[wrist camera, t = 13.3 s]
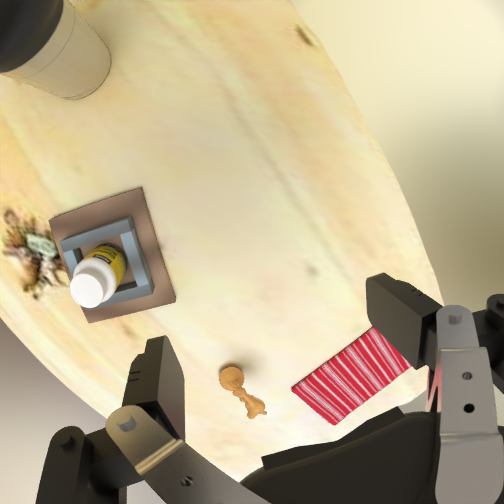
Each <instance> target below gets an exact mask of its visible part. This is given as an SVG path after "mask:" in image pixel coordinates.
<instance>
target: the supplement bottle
mask: <svg viewBox="0 0 504 504" xmlns="http://www.w3.org/2000/svg"><path fill="white" fill-rule="evenodd" d="M126 270H127V259H126V256H125V254H124V252H123V251H122V250H121V249H120V248H119V247H118V246H116V245H114V244H110V243H104V244H101V245H99V246H97V247H96V248H95V249H93V250H92V251H91V252H90V253H89V254H88V255H87V256H86V257H85V258H84V259H83V260H82V261H81V262H80V263H79V264H78V265H77V266H76V268H75V270H74V274H73V279H72V281H71V284H70V292H71V295H72V297H73V299H74V300H75V301H76V302H77V303H78V304H79V305H81V306H83V307H86V308H93V307H96V306H98V305H99V304H100V303H102V302H105V301H107V300H108V299H109V298H110V297H111V296H112V295H113V294H114V292H115V290H116V288H117V287H118V285H119V283H120V281H121V280H122V278H123V276H124V275H125V273H126Z"/></svg>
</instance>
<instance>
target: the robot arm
mask: <svg viewBox="0 0 504 504" xmlns="http://www.w3.org/2000/svg"><path fill="white" fill-rule="evenodd" d="M110 64H111V57H110V52H109V50H108V48H107V47H106V45H105V44H104V43H103V42H102V40H101V39H100V38H99V37H98V35H97V34H96V33H95V32H94V31H93V29H92V28H91V27H90V26H89V24H88V23H87V22H86V21H85V20H84V18H83V17H82V16H81V15H80V14H79V12H78V11H77V10H76V9H75V8H74V7H73V5H72V4H71V3H70V2H69V1H68V0H0V74H1V75H3V76H6V77H9V78H12V79H15V80H18V81H20V82H23V83H26V84H28V85H31V86H34V87H36V88H39V89H42V90H44V91H47V92H49V93H52V94H54V95H57V96H59V97H62V98H64V99H69V100H75V99H80V98H84V97H86V96H88V95H90V94H91V93H92V92H94V91H95V90H96V89H97V88H98V87H99V86H100V85H101V84H102V83H103V81H104V80H105V78H106V76H107V74H108V72H109V69H110ZM366 300H367V315H368V318H369V321H370V323H371V324H372V325H373V326H374V328H375V329H376V330H377V331H378V332H379V333H380V334H381V335H382V336H383V337H384V338H385V339H386V340H387V341H388V342H389V343H390V344H391V345H392V346H393V347H394V348H395V349H396V350H397V351H398V352H399V353H400V354H401V355H402V356H403V357H404V358H405V359H406V360H407V361H408V362H409V363H410V364H411V365H412V367H413V368H414V369H415V370H417V369H419V368H421V367H423V366H425V365H427V366H428V367H429V370H428V380H427V398H426V409H425V412H422V411H421V412H411V413H405V414H403V413H402V411H401V410H400V409H399V407H398V406H397V407H395V408H393V409H391V410H389V411H386V412H384V413H382V414H380V415H378V416H376V417H373V418H371V419H369V420H367V421H366V422H364V423H363V424H361V425H360V426H359V427H357V428H356V429H354V430H353V431H351V432H350V433H348V434H347V435H345V436H344V437H342V438H341V439H339V440H337V441H334V442H328V443H321V444H314V445H306V446H298V447H294V448H291V449H287V450H284V451H281V452H277V453H274V454H270V455H266V456H262V457H261V458H262V462H263V467H261V468H259V469H257V470H256V471H254V472H252V473H251V474H249V475H248V476H247V477H245V478H244V479H243V480H242V481H240V482H239V483H238V482H237V481H235V480H234V479H232V478H231V477H229V476H228V475H227V474H225V473H224V472H222V471H221V470H220V469H218V468H217V467H216V466H214V465H213V464H212V463H210V462H209V461H208V460H206V459H205V458H204V457H202V456H201V455H200V454H199V453H197V452H196V451H195V450H194V449H192V448H191V447H190V446H189V445H188V444H186V443H185V401H184V375H183V371H182V368H181V366H180V363H179V361H178V359H177V357H176V354H175V352H174V350H173V348H172V345H171V343H170V341H169V339H168V337H167V336H166V335H165V336H161V337H156V338H152V339H148V340H147V343H146V348H145V352H144V353H143V354H138V355H137V357H136V358H135V359H134V361H133V362H132V363H131V367H130V371H129V374H130V375H129V376H128V380H127V381H128V382H127V384H126V389H125V393H124V398H123V402H122V407H121V408H119V409H117V410H115V411H114V412H113V413H112V414H111V415H110V416H109V417H108V419H107V421H106V427H105V428H103V429H101V430H98V431H95V432H92V433H90V434H87V435H85V434H84V432H83V431H82V430H81V429H80V428H78V427H76V426H68V427H64V428H62V429H61V430H59V431H58V432H56V433H55V435H54V436H53V437H52V439H51V441H50V445H49V448H48V452H47V456H46V460H45V463H44V467H43V471H42V476H41V480H40V484H39V489H38V494H37V498H36V504H126V503H127V501H126V500H127V498H126V497H127V486H129V485H132V484H135V483H137V482H140V481H143V480H145V481H146V482H147V483H148V484H149V486H150V487H151V488H152V489H153V490H154V491H155V492H156V493H157V494H158V495H159V496H160V498H161V499H162V500H163V501H164V502H165V503H166V504H504V427H503V426H498V425H497V416H496V404H495V396H494V388H493V384H494V385H495V386H496V387H497V388H498V389H499V390H500V391H501V392H502V393H503V394H504V294H495V295H492V296H490V297H489V298H488V300H487V304H486V309H485V310H482V311H477V312H473V313H471V311H470V310H469V309H467V308H465V307H463V306H460V305H449V306H444V307H443V306H442V305H440V304H439V303H437V302H436V301H435V300H433V299H432V298H430V297H429V296H427V295H426V294H423V292H421V291H420V290H417V288H415V287H414V286H412V285H411V284H409V283H407V282H403V281H400V280H395V279H393V278H392V277H390V276H389V275H387V274H386V273H380V274H378V275H375V276H372V277H369V278H367V280H366Z"/></svg>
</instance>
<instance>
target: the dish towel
mask: <svg viewBox="0 0 504 504" xmlns="http://www.w3.org/2000/svg"><path fill="white" fill-rule="evenodd" d="M411 366H412V365H411V364H410V363H409V362H408V361H407V360H406V359H405V358H404V357H403V356H402V355H401V354H400V353H399V352H398V351H397V350H396V349H395V348H394V347H393V346H392V345H391V344H390V343H389V342H388V341H387V340H386V339H385V338H384V337H383V336H382V335H381V334H380V333H379V332H378V331H377V330H376V329H375V328H374V326H373V327H372V328H370V329H369V330H368V331H367V332H366V333H364V334H363V335H362V336H361V337H359V338H358V339H357V340H355V341H354V342H352V343H351V344H350V345H349V346H347V347H346V348H345V349H344V350H342V351H341V352H340V353H338V354H336V355H335V356H334V357H332V358H331V359H330V360H328V361H327V362H325V363H324V364H323V365H321V366H320V367H319V368H317V369H316V370H315V371H313V372H312V373H311V374H310V375H308V376H307V377H305V378H304V379H303V380H301V381H300V382H299V383H298V384H296V385H295V386H294V387H293V388H292V392H293V393H295V394H296V395H298V396H299V397H300V398H301V399H302V400H303V401H304V402H306V403H307V404H308V405H309V406H310V407H311V408H312V409H313V410H315V411H316V412H317V413H318V414H319V415H320V416H322V417H323V418H324V419H325V420H326V421H328V422H329V423H331V424H332V425H337V424H338V423H339V422H340V421H341V420H343V419H344V418H345V417H346V416H347V415H348V414H349V413H351V412H353V411H354V410H355V409H356V408H358V407H359V406H360V405H362V404H363V403H364V402H366V401H367V400H368V399H369V398H371V397H373V395H375V394H376V393H378V392H379V391H381V390H382V389H383V388H384V387H386V386H387V385H388V384H390V383H391V382H392V381H393V380H394V379H395V378H397V377H398V376H400V375H401V374H402V373H404V372H405V371H406V370H407V369H409V368H411Z"/></svg>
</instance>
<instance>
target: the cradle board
mask: <svg viewBox="0 0 504 504" xmlns="http://www.w3.org/2000/svg"><path fill="white" fill-rule="evenodd" d="M48 221H49V224H50V227H51V230H52V233H53V236H54V239H55V242H56V245H57V248H58V251H59V254H60V256H61V259H62V262H63V264H64V267H65V270H66V272H67V275H68V277H69V280H70V282H71V281H72V279H73V274H74V270H75V268H76V266H77V265H78V264H79V263H80V262H81V261H82V260H83V259H84V258H85V257H86V256H87V255H88V254H89V253H90V252H91V251H92V250H93V249H95V248H96V247H97V246H99V245H101V244H104V243H110V244H114V245H116V246H118V247H119V248H120V249H121V250H122V251H123V252H124V254H125V256H126V259H127V270H126V273H125V275H124V276H123V278H122V280H121V281H120V283H119V285H118V287H117V288H116V290H115V292H114V294H113V295H112V296H111V297H110V298H109V299H108V300H107V301H105V302H102V303H100V304H99V305H98V306H96V307H93V308H86V307H83V306H81V305H80V306H81V308H82V310H83V312H84V314H85V317H86V319H87V321H88V323H93V322H97V321H102V320H106V319H110V318H114V317H118V316H123V315H127V314H131V313H135V312H139V311H143V310H147V309H151V308H155V307H159V306H163V305H167V304H171V303H175V302H176V296H175V293H174V291H173V288H172V285H171V282H170V279H169V276H168V273H167V270H166V267H165V264H164V261H163V258H162V254H161V251H160V248H159V245H158V242H157V239H156V235H155V232H154V229H153V225H152V222H151V218H150V215H149V212H148V208H147V204H146V201H145V197H144V194H143V190H142V187H141V188H138V189H135V190H132V191H128V192H125V193H122V194H119V195H116V196H113V197H110V198H107V199H104V200H101V201H98V202H95V203H92V204H90V205H87V206H84V207H81V208H78V209H76V210H73V211H70V212H68V213H65V214H62V215H60V216H57V217H54V218H52V219H50V220H48Z"/></svg>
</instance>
